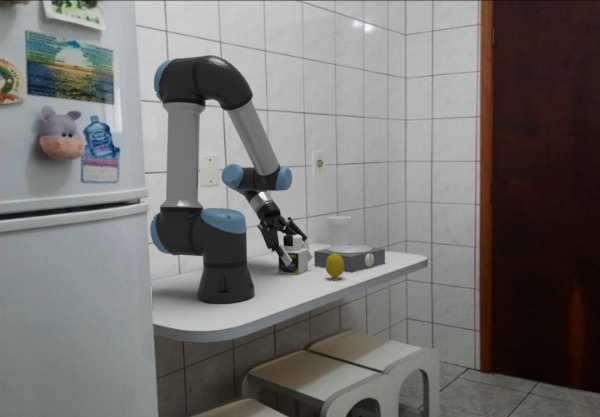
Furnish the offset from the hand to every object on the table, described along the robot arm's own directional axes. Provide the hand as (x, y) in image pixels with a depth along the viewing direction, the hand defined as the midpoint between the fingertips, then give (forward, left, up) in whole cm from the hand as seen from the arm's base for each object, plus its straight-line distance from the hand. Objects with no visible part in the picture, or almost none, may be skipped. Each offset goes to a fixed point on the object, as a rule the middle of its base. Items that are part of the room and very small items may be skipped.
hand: (300, 261), depth 170 cm
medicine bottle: (0, +3, -4) cm, 5 cm away
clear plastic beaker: (+39, +17, -4) cm, 43 cm away
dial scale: (+20, -4, -4) cm, 21 cm away
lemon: (+1, -14, -4) cm, 14 cm away
